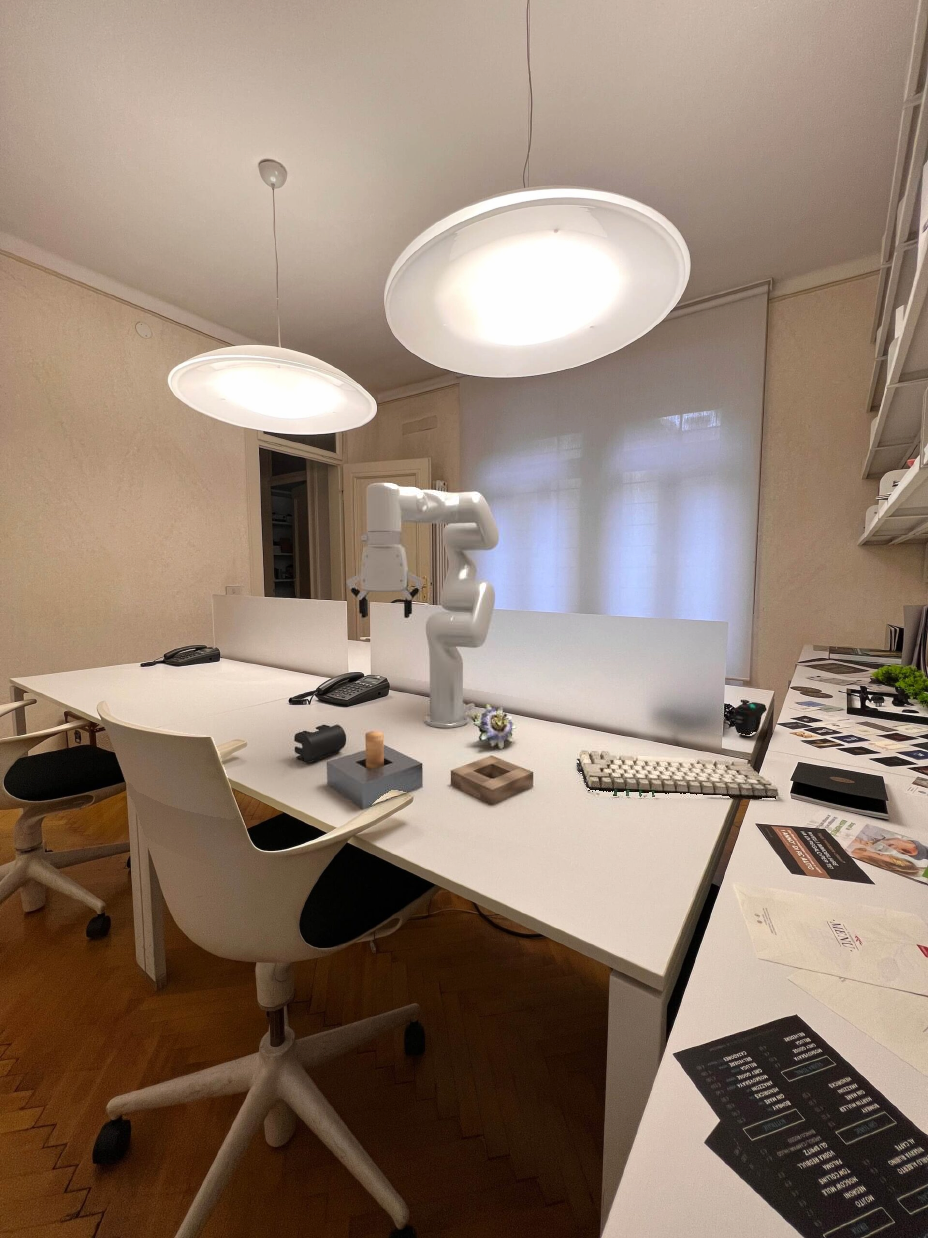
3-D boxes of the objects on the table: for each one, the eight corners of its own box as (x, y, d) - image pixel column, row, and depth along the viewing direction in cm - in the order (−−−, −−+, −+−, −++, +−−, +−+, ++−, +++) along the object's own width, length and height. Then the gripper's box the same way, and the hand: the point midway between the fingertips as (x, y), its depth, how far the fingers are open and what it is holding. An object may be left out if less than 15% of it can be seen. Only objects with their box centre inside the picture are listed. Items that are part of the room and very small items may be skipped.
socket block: (384, 766, 113) (384, 744, 112) (422, 786, 102) (422, 763, 102) (327, 784, 103) (326, 761, 103) (362, 809, 93) (362, 783, 92)
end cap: (312, 767, 112) (311, 738, 111) (293, 760, 116) (292, 732, 116) (347, 753, 120) (346, 726, 119) (328, 747, 124) (327, 721, 124)
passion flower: (499, 769, 124) (484, 740, 117) (471, 749, 132) (455, 720, 125) (529, 737, 129) (516, 707, 122) (499, 719, 137) (486, 690, 130)
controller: (729, 737, 131) (731, 700, 130) (750, 728, 139) (752, 693, 137) (746, 742, 128) (749, 704, 127) (767, 732, 135) (769, 696, 134)
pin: (377, 780, 105) (377, 729, 104) (387, 786, 103) (386, 734, 102) (363, 785, 103) (361, 733, 102) (372, 791, 100) (371, 738, 99)
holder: (491, 768, 112) (491, 755, 111) (533, 786, 103) (533, 772, 102) (450, 784, 104) (450, 770, 103) (492, 805, 95) (492, 789, 94)
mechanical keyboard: (740, 766, 114) (741, 752, 114) (786, 808, 95) (788, 791, 95) (572, 762, 117) (573, 748, 117) (585, 801, 98) (586, 784, 98)
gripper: (341, 540, 108) (343, 619, 110) (420, 539, 107) (421, 619, 109) (350, 541, 115) (352, 615, 117) (425, 541, 115) (425, 615, 116)
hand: (385, 617), depth 113 cm, fingers open, 9 cm apart
